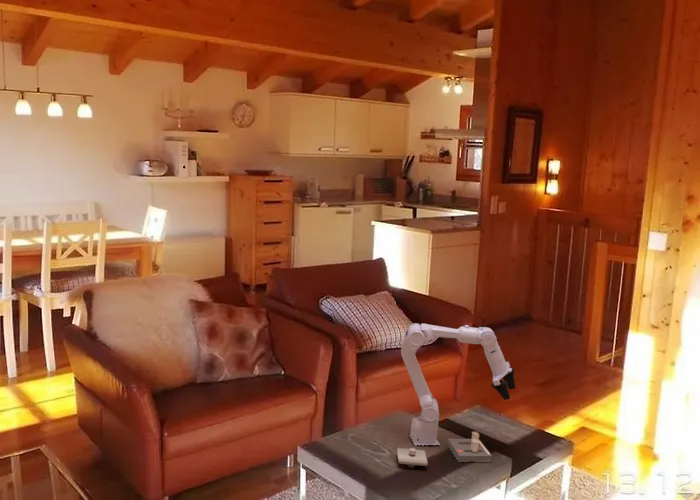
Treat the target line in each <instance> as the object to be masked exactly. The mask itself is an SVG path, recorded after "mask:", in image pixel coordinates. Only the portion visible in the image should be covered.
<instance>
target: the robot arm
mask: <svg viewBox="0 0 700 500" xmlns="http://www.w3.org/2000/svg"><path fill="white" fill-rule="evenodd" d="M434 338H447V339H457V340H458V342H459V343H464V344H473V345H481V346H482V347H483V350H484V351H483V352H484V354H485V355H484V356H485V358H486V359H487V362H488V364H489V366H490V369H491V372H492V383H491V387H492V388H493V389H494V390H495V391H497V393H498V394H499V395H500V397H501V398H502V399H503V400H504V401H506V400H510V398H511V396H510V395H511V394H510V392H509V390H515V389H516V382H515V368H514V367H511V365H510V362H509V361H506V359H505V357H504V354H503V352H502V350H501V347H500V345H499V343H498V341H497V339H498V338H497V336H496V334H495V331H493V330H492V328H490V327H487V326H482V327H481V326H479V327H474V326H473V327H471V326H470V325H468V324H465V325H464V326H460V327H458V328H452V327H448V326H447V327H446V326H440V325H433V324H428V323H421V324H420V323H416V322H415V323H411V324H410V325H409V326H408V327H407V328H406V330H405V331H404V336H403V341H402V345H401V349H400V353H401V357H402V360H403V363H404V365H405V367H406V370H407V373H408V375H409V378H410V380H411V383H412V385H413V387H414V390H415V392H416V395H417V398H418V401H419V405H420V407H421V413H420V414H419V415H418V416H417V417H413V418H412V419H411V425H410V434H409V437H411V438H410V440H411V439H412V440H411V441H412V443H413V445H414V446H415V447H419V446H420V445H422V446H424V445H426V446H427V445H437V444H438V445H441V444H440V442H439V441H438V437H437V436H438V431H439V421H440V411H439V404H438V400H437V399H436V398H435V397H434V396H433V394H432V392H431V391H430V389H429V386H428V384H427V381H426V379H425V376H424V374H423V371H422V368H421V366H420V364H419V361H418V359H417V356H416V353H417V351H418V349H419V348H421V346H423V345H424V344H425V342H426V341H427V342H429V341H431V340H432V339H434ZM417 445H419V446H417ZM422 446H421V447H422ZM426 446H425V447H426ZM427 447H428V446H427Z"/></svg>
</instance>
